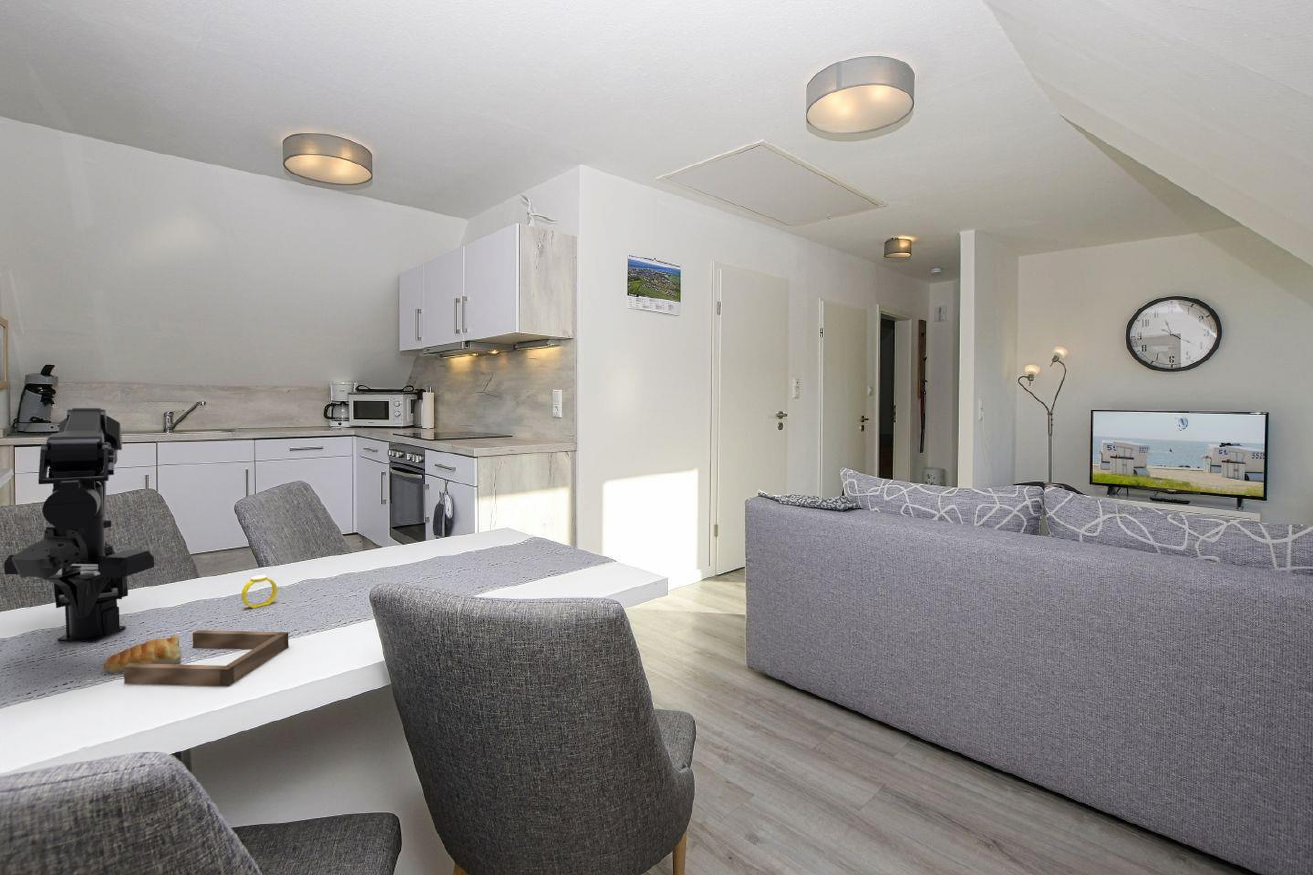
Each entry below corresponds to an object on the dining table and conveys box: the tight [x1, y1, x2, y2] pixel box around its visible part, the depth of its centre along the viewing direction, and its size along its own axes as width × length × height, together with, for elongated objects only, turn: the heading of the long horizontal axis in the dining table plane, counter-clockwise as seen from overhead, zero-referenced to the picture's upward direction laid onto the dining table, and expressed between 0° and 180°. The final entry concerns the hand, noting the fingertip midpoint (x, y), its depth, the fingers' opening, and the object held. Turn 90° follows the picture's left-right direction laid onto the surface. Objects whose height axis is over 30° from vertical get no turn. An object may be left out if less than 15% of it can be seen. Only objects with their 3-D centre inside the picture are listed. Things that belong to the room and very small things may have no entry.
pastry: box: [103, 635, 182, 675], centre depth 98 cm, size 9×7×4 cm
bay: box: [123, 629, 289, 687], centre depth 98 cm, size 15×14×2 cm
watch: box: [241, 574, 278, 609], centre depth 125 cm, size 6×3×6 cm, turn 145°
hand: (83, 616), depth 98 cm, fingers closed
